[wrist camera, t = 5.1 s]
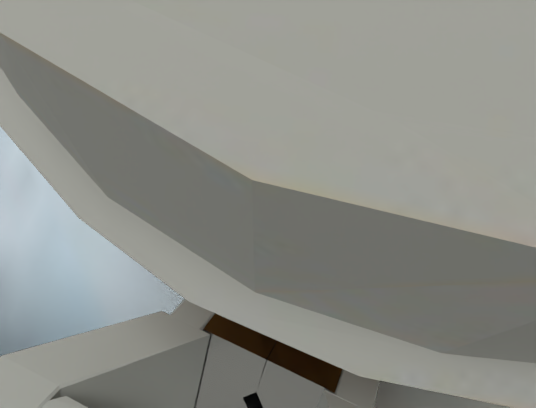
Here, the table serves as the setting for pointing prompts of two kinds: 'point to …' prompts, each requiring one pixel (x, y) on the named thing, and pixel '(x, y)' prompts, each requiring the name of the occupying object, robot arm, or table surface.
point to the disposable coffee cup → (305, 168)
